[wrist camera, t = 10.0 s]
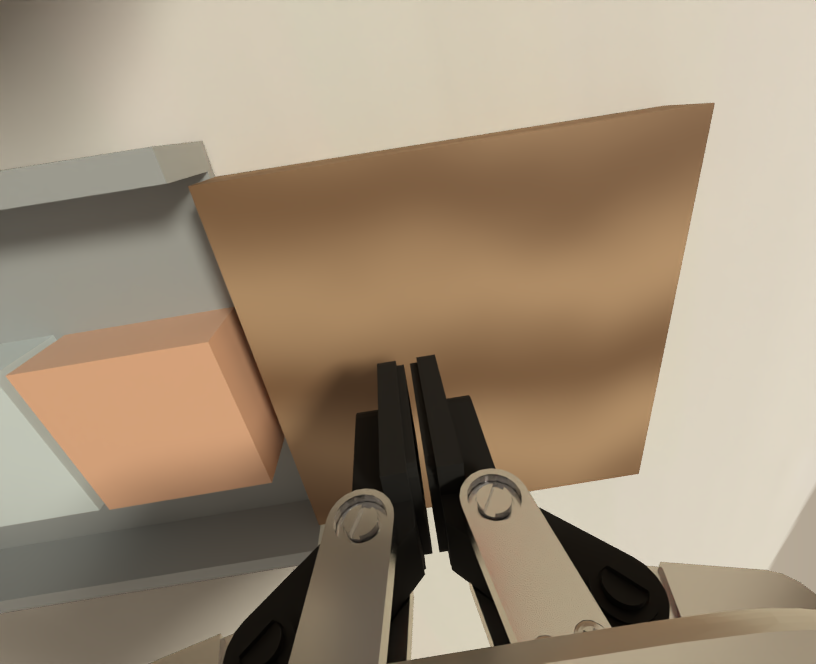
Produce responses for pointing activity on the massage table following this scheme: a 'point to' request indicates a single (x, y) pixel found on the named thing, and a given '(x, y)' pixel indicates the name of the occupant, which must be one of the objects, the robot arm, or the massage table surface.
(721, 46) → the massage table surface
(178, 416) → the terracotta tile
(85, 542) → the grey tray
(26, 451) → the pale blue tile
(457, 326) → the walnut plate
